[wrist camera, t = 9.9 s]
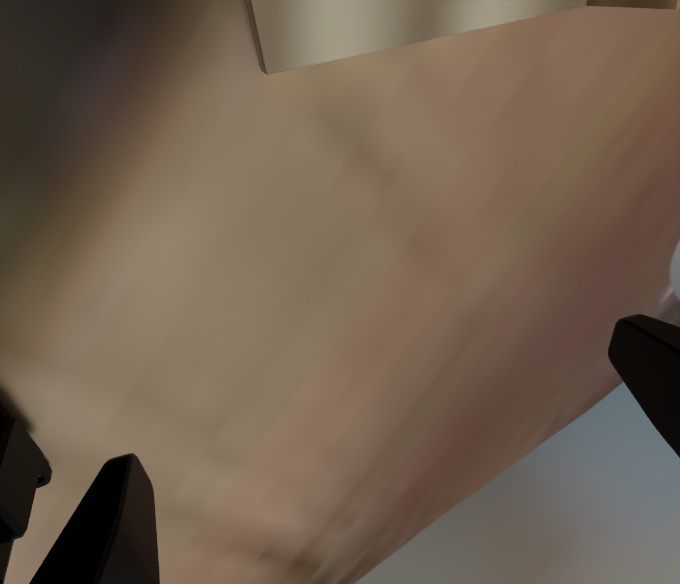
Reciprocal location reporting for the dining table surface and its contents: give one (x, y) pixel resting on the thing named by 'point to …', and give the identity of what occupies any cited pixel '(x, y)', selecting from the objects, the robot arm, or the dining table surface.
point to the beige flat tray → (385, 24)
